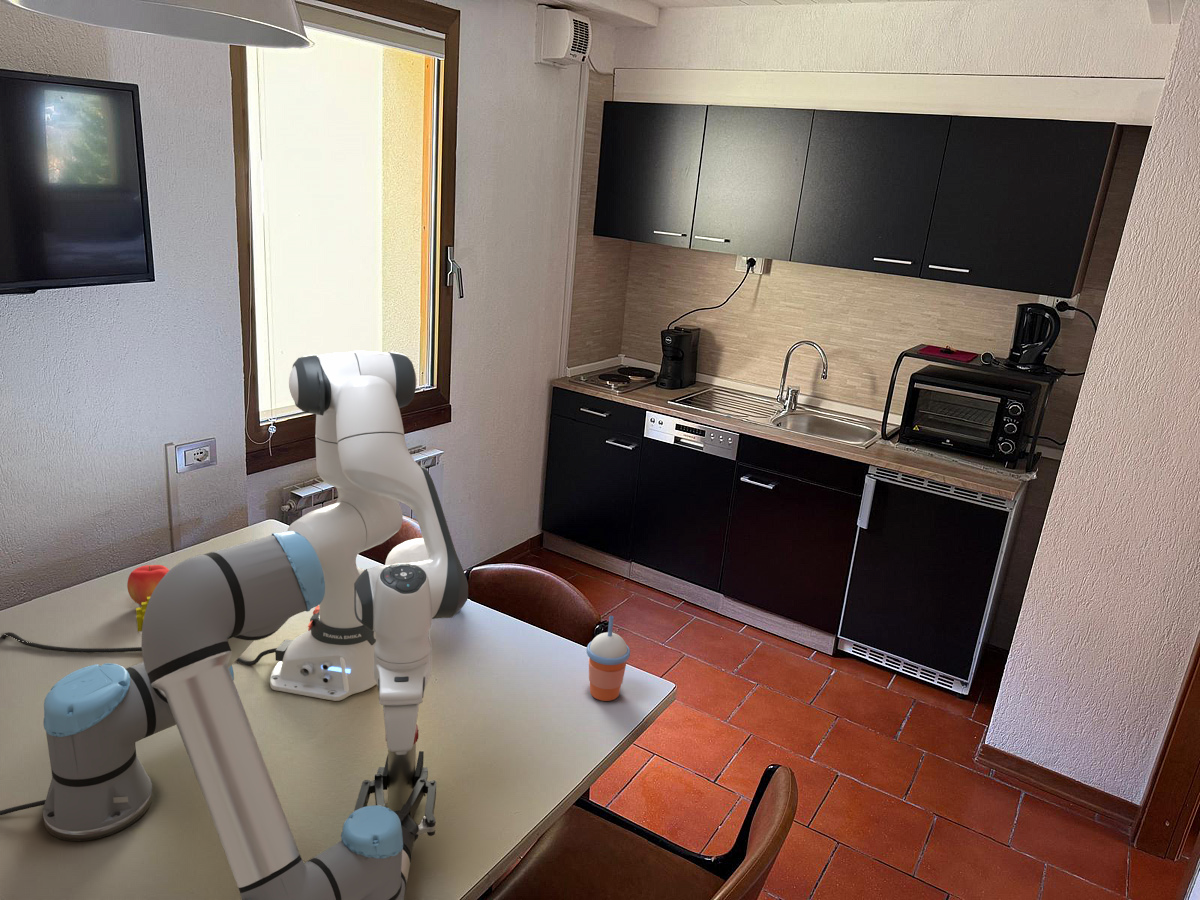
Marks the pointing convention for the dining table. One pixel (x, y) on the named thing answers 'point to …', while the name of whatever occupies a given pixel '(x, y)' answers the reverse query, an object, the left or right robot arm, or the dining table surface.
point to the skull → (408, 552)
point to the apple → (145, 581)
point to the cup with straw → (607, 664)
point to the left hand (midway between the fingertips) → (405, 757)
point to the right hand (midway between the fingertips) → (402, 739)
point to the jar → (400, 778)
